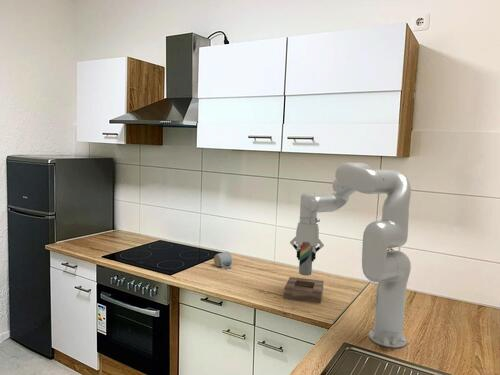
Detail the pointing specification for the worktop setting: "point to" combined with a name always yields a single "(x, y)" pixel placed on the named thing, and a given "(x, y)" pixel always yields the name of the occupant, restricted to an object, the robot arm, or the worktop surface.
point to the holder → (304, 290)
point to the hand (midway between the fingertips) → (305, 259)
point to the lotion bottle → (305, 259)
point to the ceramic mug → (223, 260)
